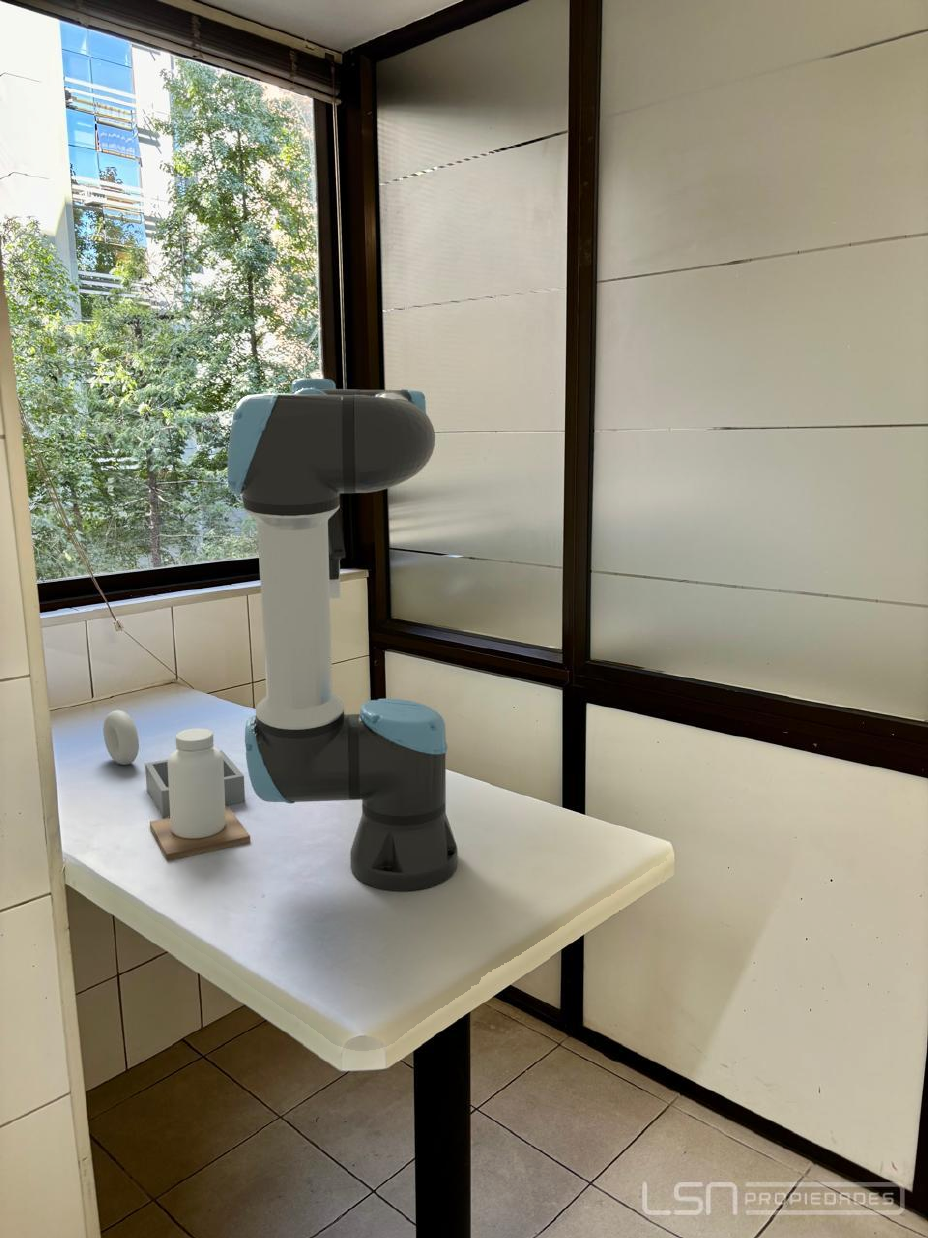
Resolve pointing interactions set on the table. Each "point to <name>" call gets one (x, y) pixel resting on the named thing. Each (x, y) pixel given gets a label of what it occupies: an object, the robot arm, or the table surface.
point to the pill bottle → (196, 785)
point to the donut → (121, 737)
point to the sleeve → (159, 784)
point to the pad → (186, 847)
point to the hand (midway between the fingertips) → (317, 591)
